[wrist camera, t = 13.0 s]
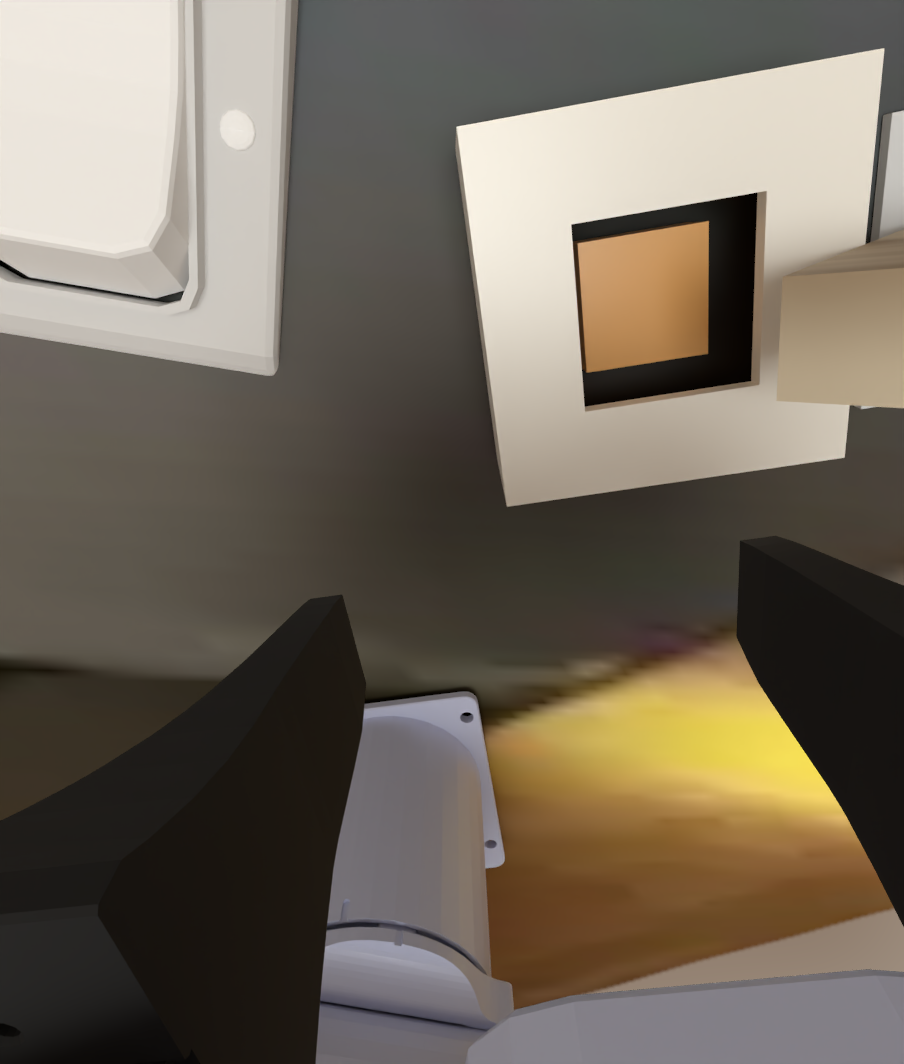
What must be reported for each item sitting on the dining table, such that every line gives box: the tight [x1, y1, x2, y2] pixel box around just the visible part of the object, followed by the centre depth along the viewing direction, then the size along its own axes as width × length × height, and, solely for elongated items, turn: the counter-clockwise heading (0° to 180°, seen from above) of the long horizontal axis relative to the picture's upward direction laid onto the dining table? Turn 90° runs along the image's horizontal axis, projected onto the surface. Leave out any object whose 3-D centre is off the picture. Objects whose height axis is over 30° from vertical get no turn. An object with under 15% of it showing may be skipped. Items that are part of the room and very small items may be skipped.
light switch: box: [0, 0, 298, 376], centre depth 16 cm, size 11×4×13 cm
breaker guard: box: [455, 48, 884, 507], centre depth 18 cm, size 9×9×4 cm
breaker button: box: [573, 221, 709, 373], centre depth 18 cm, size 3×3×2 cm
